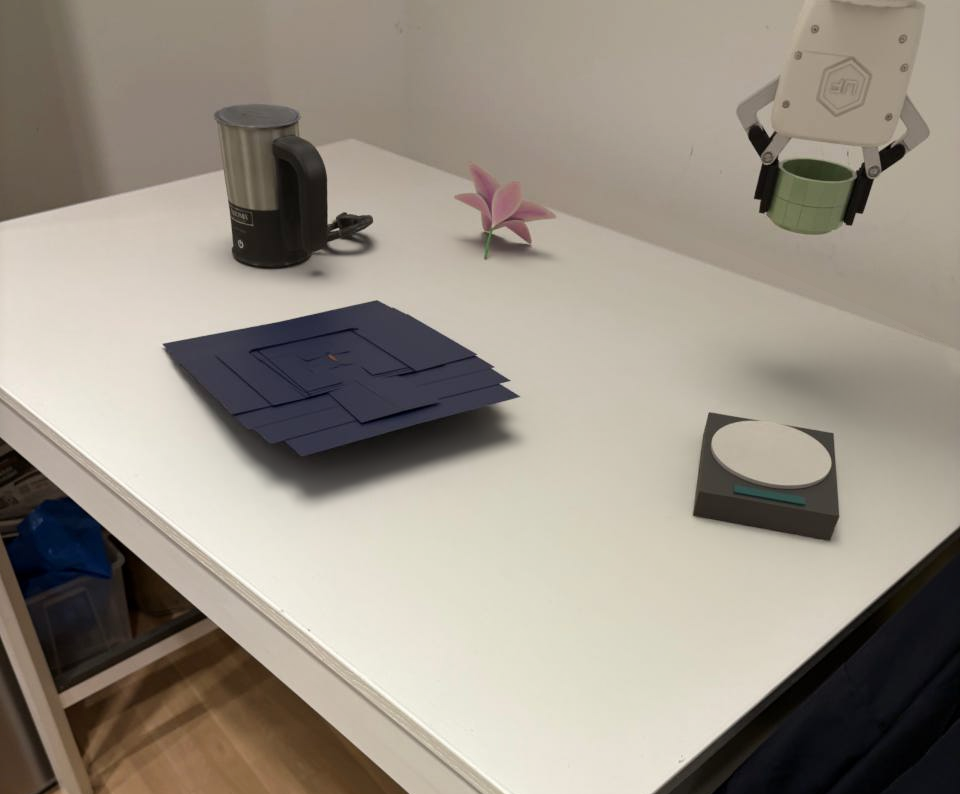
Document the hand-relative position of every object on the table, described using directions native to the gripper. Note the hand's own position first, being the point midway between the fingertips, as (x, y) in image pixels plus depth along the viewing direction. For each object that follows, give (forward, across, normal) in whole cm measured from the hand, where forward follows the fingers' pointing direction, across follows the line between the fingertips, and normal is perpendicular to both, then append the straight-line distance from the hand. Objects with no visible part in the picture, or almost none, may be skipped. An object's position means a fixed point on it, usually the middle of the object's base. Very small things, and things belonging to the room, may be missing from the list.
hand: (805, 212), depth 84 cm
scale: (+16, +1, -21) cm, 26 cm away
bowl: (+1, 0, 0) cm, 1 cm away
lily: (+16, -33, +21) cm, 42 cm away
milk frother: (+15, -55, +12) cm, 58 cm away
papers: (+16, -39, -18) cm, 46 cm away
